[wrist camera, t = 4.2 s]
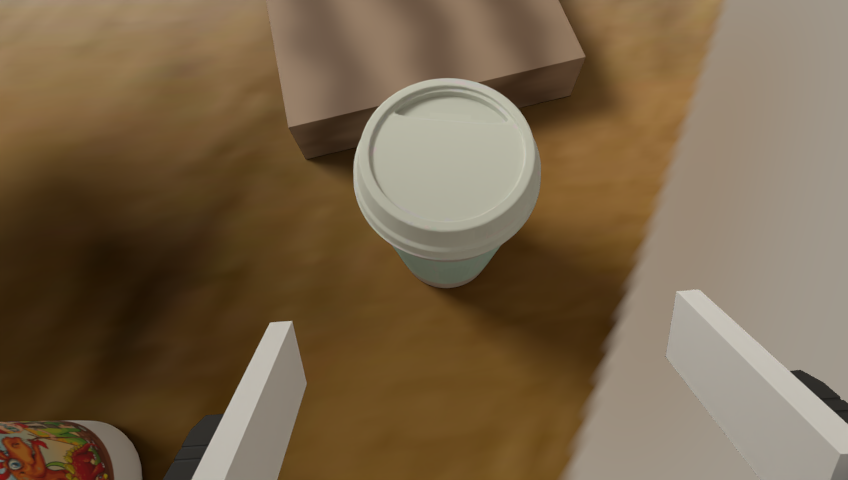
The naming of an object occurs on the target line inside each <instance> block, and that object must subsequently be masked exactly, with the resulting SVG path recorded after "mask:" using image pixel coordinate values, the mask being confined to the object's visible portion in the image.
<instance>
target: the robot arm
mask: <svg viewBox="0 0 848 480" xmlns="http://www.w3.org/2000/svg"><path fill="white" fill-rule="evenodd" d="M666 358H667V359H668V361H669V362H670V363H671V365H672V366H673V367H674V368H675V370H676V371H677V372H678V374H679V375H680V376H681V377H682V379H683V380H684V381H685V383H686V384H687V385H688V387H689V388H690V389H691V390H692V392H693V393H694V394H695V396H696V397H697V398H698V400H699V401H700V402H701V404H702V405H703V406H704V407H705V409H706V410H707V411H708V412H709V414H710V415H711V416H712V418H713V419H714V420H715V422H716V423H717V424H718V425H719V427H720V428H721V429H722V431H723V432H724V433H725V435H726V436H727V437H728V438H729V440H730V441H731V442H732V444H733V445H734V446H735V448H736V449H737V450H738V452H739V453H740V454H741V455H742V457H743V458H744V459H745V461H746V462H747V463H748V464H749V466H750V467H751V468H752V470H753V471H754V472H755V474H756V475H757V476H758V477H759V479H760V480H848V403H847V402H845V401H844V400H841V399H840V396H838V395H837V394H836V393H835V392H834V391H833V390H831V389H830V388H829V387H828V386H827V385H826V384H824V383H823V382H821V381H820V380H818V379H816V378H814V377H812V376H811V375H809V374H807V373H805V372H803V371H801V370H796V371H789V370H787V369H786V368H785V367H784V366H783V365H782V364H781V363H780V362H778V361H777V360H776V359H775V358H774V357H773V356H772V355H771V354H770V353H769V352H768V351H766V350H765V349H764V348H763V347H762V346H761V345H760V344H759V343H757V341H755V340H754V339H753V338H752V337H751V336H750V335H749V334H748V333H747V332H746V331H744V330H743V329H742V328H741V327H740V326H739V325H738V324H737V323H736V322H735V321H733V320H732V319H731V318H730V317H729V316H728V315H727V314H726V313H725V312H723V311H722V310H721V309H720V308H719V307H718V306H717V305H716V304H715V303H714V302H712V301H711V300H710V299H709V298H708V297H707V296H706V295H705V294H704V293H702V292H701V291H700V290H685V291H676V296H675V302H674V308H673V314H672V320H671V327H670V332H669V339H668V345H667V350H666ZM306 385H307V382H306V378H305V374H304V370H303V365H302V361H301V357H300V353H299V348H298V344H297V340H296V336H295V331H294V327H293V323H292V321H284V322H271V323H270V324H269V326H268V328H267V330H266V332H265V334H264V336H263V338H262V340H261V342H260V344H259V346H258V348H257V350H256V352H255V354H254V356H253V358H252V360H251V362H250V364H249V366H248V368H247V370H246V372H245V374H244V376H243V378H242V380H241V382H240V384H239V386H238V388H237V390H236V392H235V394H234V396H233V398H232V400H231V402H230V404H229V406H228V408H227V410H226V412H225V414H217V415H206V416H205V417H204V418H203V419H202V420H201V421H200V422H199V423H198V424H197V425H196V426H194V427H193V428H192V429H191V431H190V432H189V434H188V436H187V438H186V440H185V441H184V443H183V445H182V449H180V450H179V452H178V454H177V455H176V457H175V459H174V463H172V464H171V466H170V468H169V470H168V471H167V473H166V475H165V477H164V479H163V480H277V478H278V475H279V472H280V469H281V466H282V462H283V459H284V456H285V453H286V449H287V446H288V443H289V440H290V436H291V433H292V430H293V427H294V423H295V420H296V417H297V414H298V410H299V407H300V404H301V401H302V398H303V394H304V391H305V388H306Z"/></svg>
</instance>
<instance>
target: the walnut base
mask: <svg viewBox="0 0 848 480" xmlns="http://www.w3.org/2000/svg"><path fill="white" fill-rule="evenodd" d="M266 2H267V8H268V14H269V19H270V25H271V31H272V37H273V42H274V48H275V54H276V59H277V65H278V71H279V76H280V82H281V88H282V94H283V99H284V105H285V111H286V116H287V122H288V128H289V129H290V131H291V133H292V135H293V137H294V138H295V140H296V142H297V144H298V146H299V148H300V149H301V151H302V153H303V155H304V157H305V158H306V159H310V158H314V157H318V156H322V155H326V154H330V153H335V152H339V151H343V150H347V149H351V148H355V147H358V144H359V142H360V139H361V137H362V133H363V131H364V129H365V126H366V124H367V122H368V121H369V119H370V117H371V116H372V114H373V113H374V112H375V111H376V109H377V108H378V107H379V106H380V105H381V104H382V103H383V102H384V101H386V100H387V99H388V98H389V97H391V96H392V95H394V94H395V93H396V92H398V91H400V90H402V89H404V88H406V87H408V86H410V85H413V84H416V83H419V82H422V81H426V80H432V79H441V78H455V79H464V80H469V81H473V82H477V83H480V84H483V85H485V86H488V87H490V88H492V89H494V90H496V91H497V92H499V93H500V94H502V95H503V96H505V97H506V98H507V99H509V100H510V101H511V102H512V103H513V104H514V105H515V106H516V107H517V108H521V107H525V106H529V105H533V104H538V103H542V102H546V101H550V100H554V99H558V98H562V97H567V96H570V95H571V93H572V90H573V88H574V85H575V82H576V80H577V77H578V75H579V72H580V70H581V67H582V65H583V62H584V60H585V54H584V52H583V50H582V48H581V46H580V44H579V42H578V40H577V38H576V36H575V34H574V31H573V29H572V27H571V25H570V23H569V21H568V19H567V17H566V15H565V13H564V11H563V9H562V6H561V4H560V2H559V0H266Z"/></svg>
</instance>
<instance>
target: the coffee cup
mask: <svg viewBox="0 0 848 480" xmlns="http://www.w3.org/2000/svg"><path fill="white" fill-rule="evenodd" d="M353 174H354V190H355V195H356V198H357V202H358V204H359V207H360V209H361V211H362V213H363V215H364V217H365V218H366V220H367V221H368V223H369V224H370V225H371V227H372V228H373V229H374V230H375V231H376V232H377V233H378V234H379V235H380V236H381V237H382V238H383V239H385V240H386V241H387V242H389V243H390V244H392V246H393V247H394V249H395V250H396V251H397V253H398V254H399V256H400V257H401V258H402V260H403V261H404V263H405V264H406V265H407V267H408V268H409V269H410V271H411V272H412V273H413V274H414V275H415V276H416V277H417V278H418V279H420V280H421V281H423V282H424V283H426V284H428V285H431V286H434V287H439V288H453V287H458V286H461V285H464V284H466V283H468V282H470V281H472V280H473V279H474V278H476V277H477V276H478V275H479V274H480V273H481V271H482V270H483V269H484V267H485V266H486V265H487V264H488V262H489V261H490V260H491V258H492V257H493V256H494V254H495V253H496V251H497V250H498V249H499V247H500V246H501V245H502V244H503V243H505V242H506V241H507V240H509V239H510V238H511V237H512V236H513V235H514V234H516V233H517V232H518V231H519V229H520V228H521V227H522V226H523V225H524V223H525V222H526V221H527V219H528V218H529V216H530V214H531V213H532V211H533V209H534V206H535V204H536V201H537V198H538V194H539V190H540V181H541V163H540V156H539V152H538V148H537V145H536V142H535V140H534V138H533V135H532V132H531V129H530V127H529V125H528V123H527V121H526V119H525V117H524V116H523V115H522V113H521V112H520V111H519V109H518V108H517V107H516V106H515V105H514V104H513V103H512V102H511V101H510V100H509V99H507V98H506V97H505V96H503V95H502V94H500V93H499V92H497V91H496V90H494V89H492V88H490V87H488V86H485V85H483V84H480V83H477V82H473V81H469V80H464V79H455V78H441V79H432V80H426V81H422V82H419V83H416V84H413V85H410V86H408V87H406V88H404V89H402V90H400V91H398V92H396V93H395V94H394V95H392V96H391V97H389V98H388V99H387V100H386V101H384V102H383V103H382V104H381V105H380V106H379V107H378V108H377V109H376V111H375V112H374V113H373V114H372V116H371V117H370V119H369V121H368V122H367V124H366V126H365V129H364V131H363V133H362V137H361V139H360V142H359V144H358V147H357V150H356V154H355V158H354V169H353Z"/></svg>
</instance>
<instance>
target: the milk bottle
mask: <svg viewBox="0 0 848 480" xmlns="http://www.w3.org/2000/svg"><path fill="white" fill-rule="evenodd" d="M0 480H143V479H142V466H141V463H140V459H139V455H138V453H137V451H136V449H135V447H134V445H133V443H132V442H131V441H130V440H129V439H128V438H127V436H126V435H125V434H124V433H122V432H121V431H120V430H119V429H117V428H115V427H114V426H112V425H109V424H107V423H103V422H99V421H83V420H69V421H21V422H0Z"/></svg>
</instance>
